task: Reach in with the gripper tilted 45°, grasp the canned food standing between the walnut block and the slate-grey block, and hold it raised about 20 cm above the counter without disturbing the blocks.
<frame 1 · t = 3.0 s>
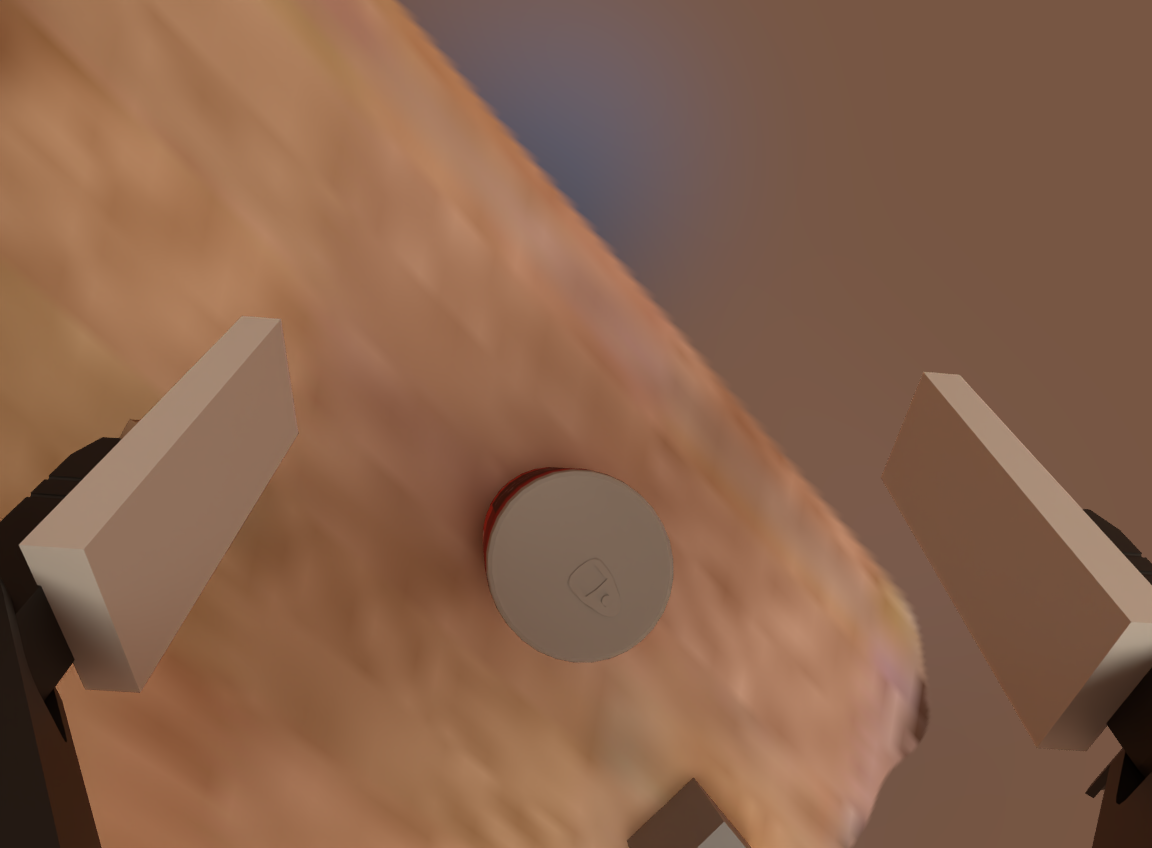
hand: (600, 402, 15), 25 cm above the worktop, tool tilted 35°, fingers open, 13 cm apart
canned food: (551, 536, 40), on the worktop
slate-grey block: (687, 841, 40), on the worktop
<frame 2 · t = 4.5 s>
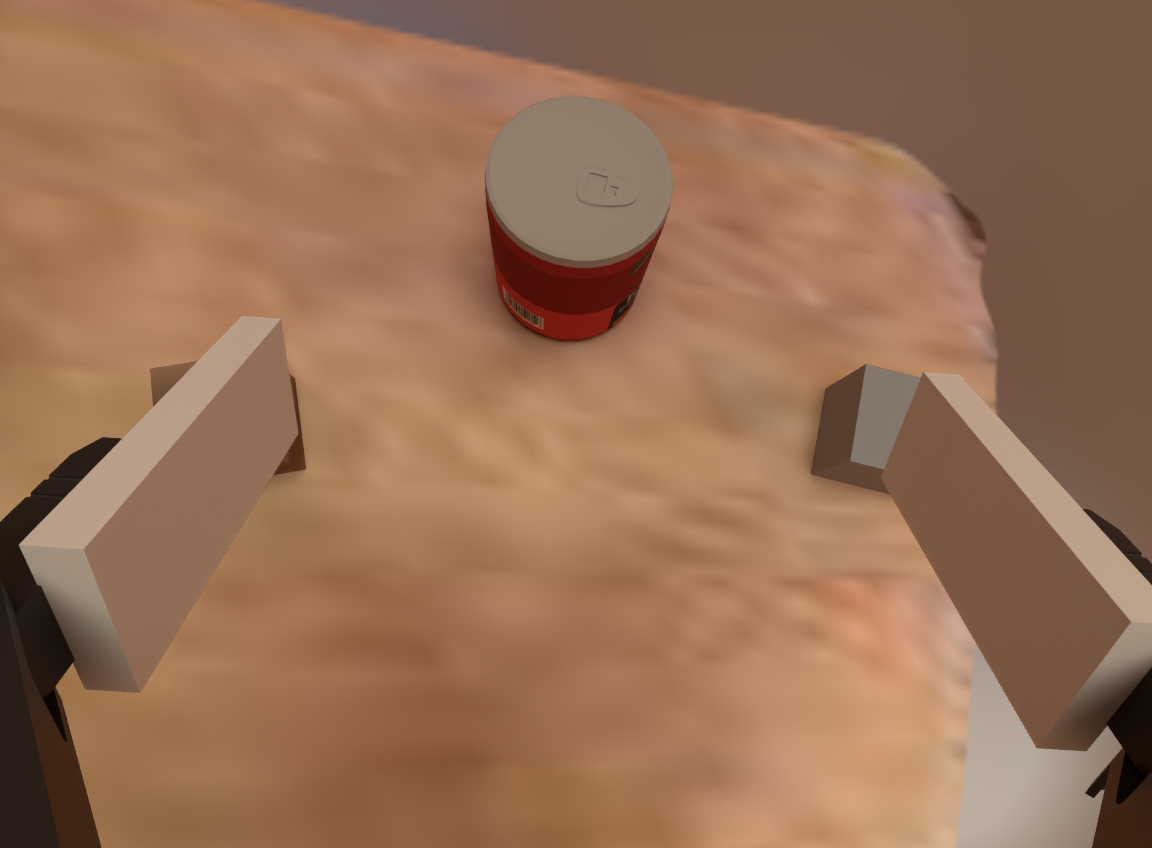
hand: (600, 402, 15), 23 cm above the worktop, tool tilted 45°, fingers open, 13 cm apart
canned food: (566, 281, 40), on the worktop
slate-grey block: (861, 442, 39), on the worktop
walnut block: (252, 431, 37), on the worktop
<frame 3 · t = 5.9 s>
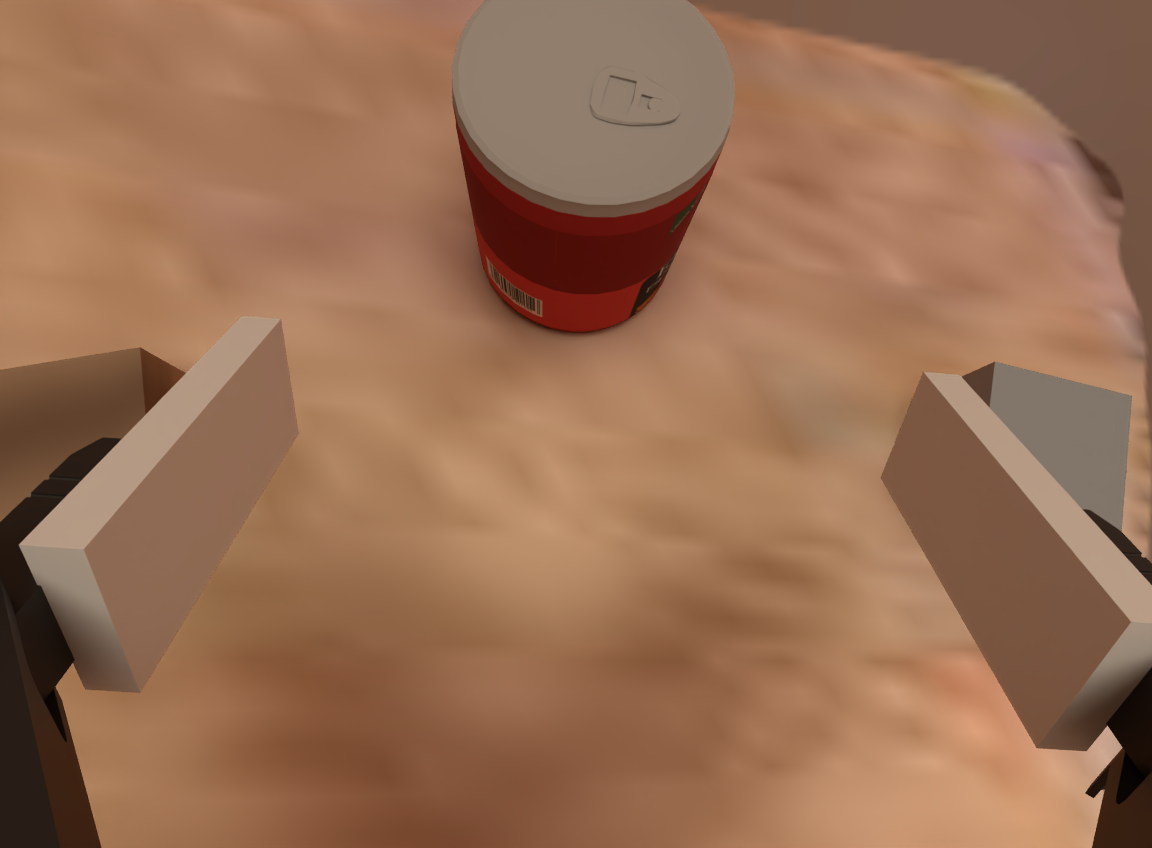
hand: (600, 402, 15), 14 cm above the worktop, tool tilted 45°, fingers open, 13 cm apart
canned food: (573, 255, 30), on the worktop
slate-grey block: (970, 466, 29), on the worktop
walnut block: (148, 457, 28), on the worktop
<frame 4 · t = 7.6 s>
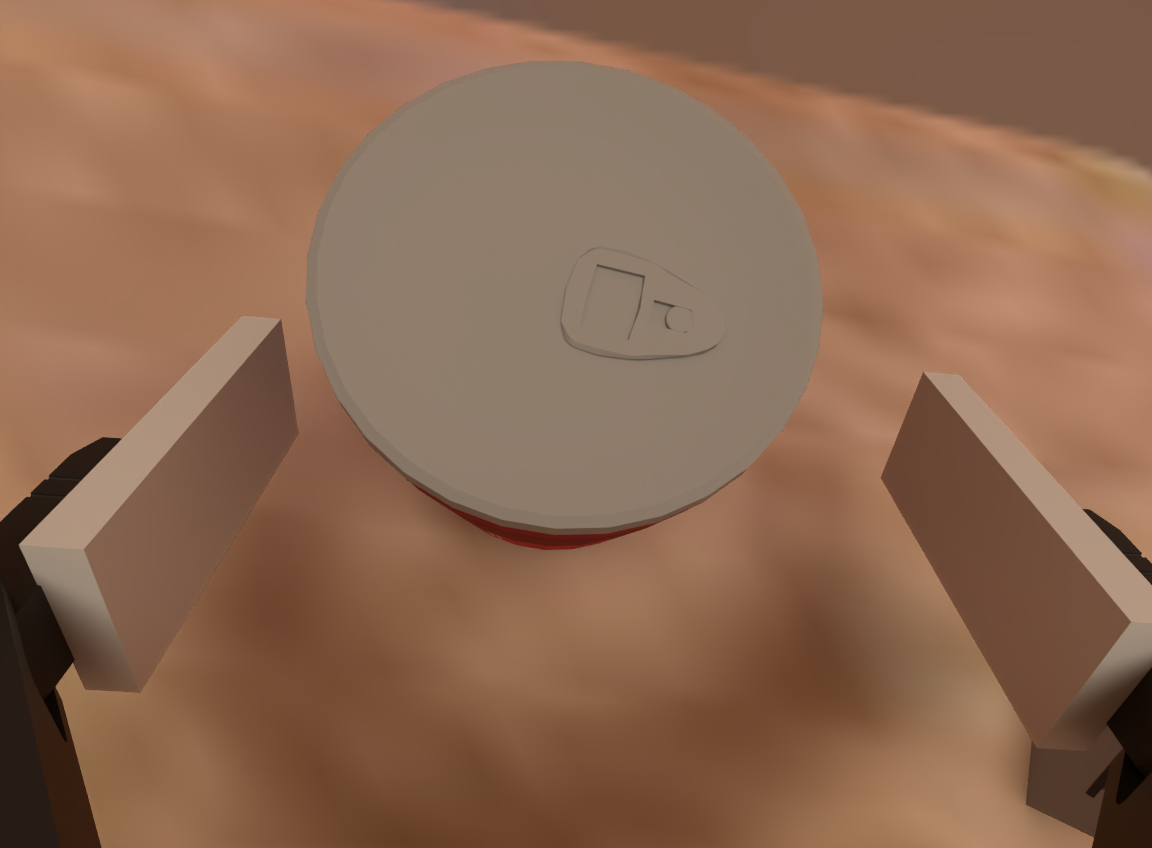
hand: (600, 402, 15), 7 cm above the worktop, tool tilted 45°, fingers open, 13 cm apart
canned food: (551, 424, 22), on the worktop
slate-grey block: (1115, 732, 21), on the worktop
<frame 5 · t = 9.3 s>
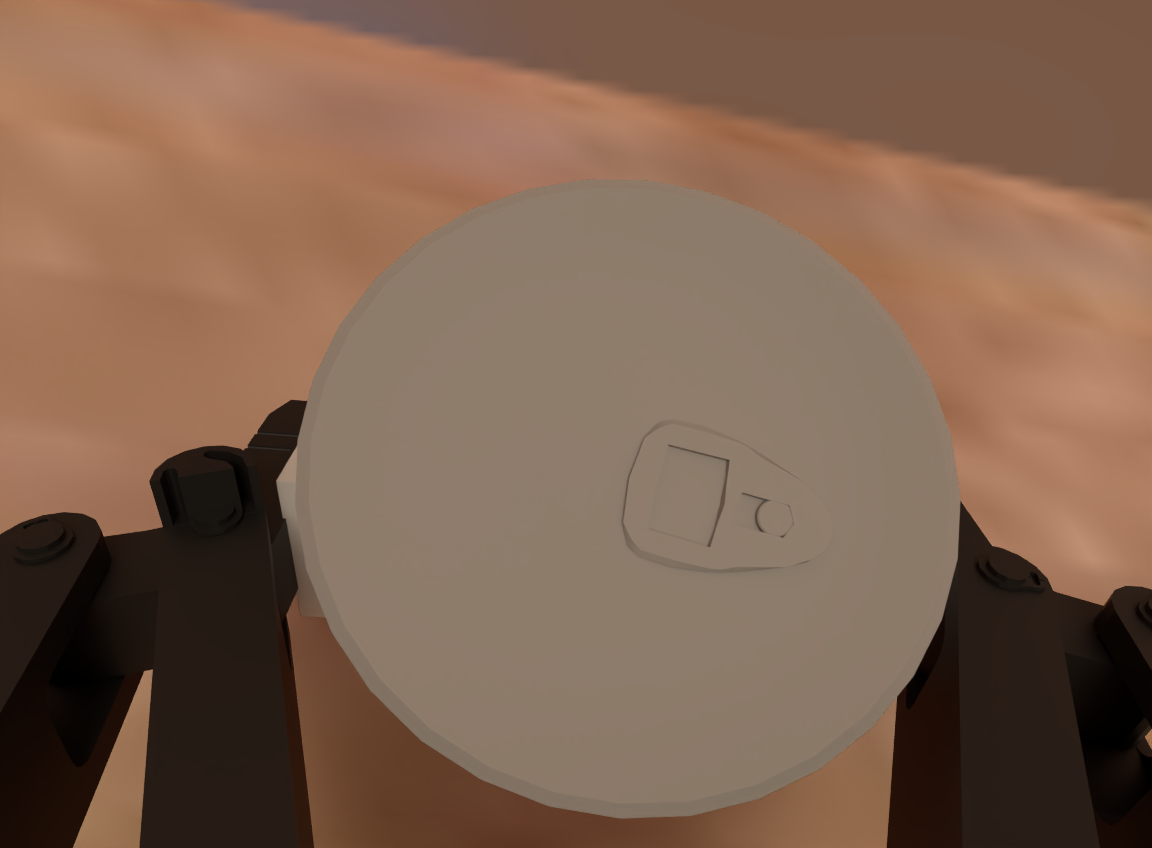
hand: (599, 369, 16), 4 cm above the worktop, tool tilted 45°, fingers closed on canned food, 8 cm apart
canned food: (579, 528, 19), on the worktop, touching gripper
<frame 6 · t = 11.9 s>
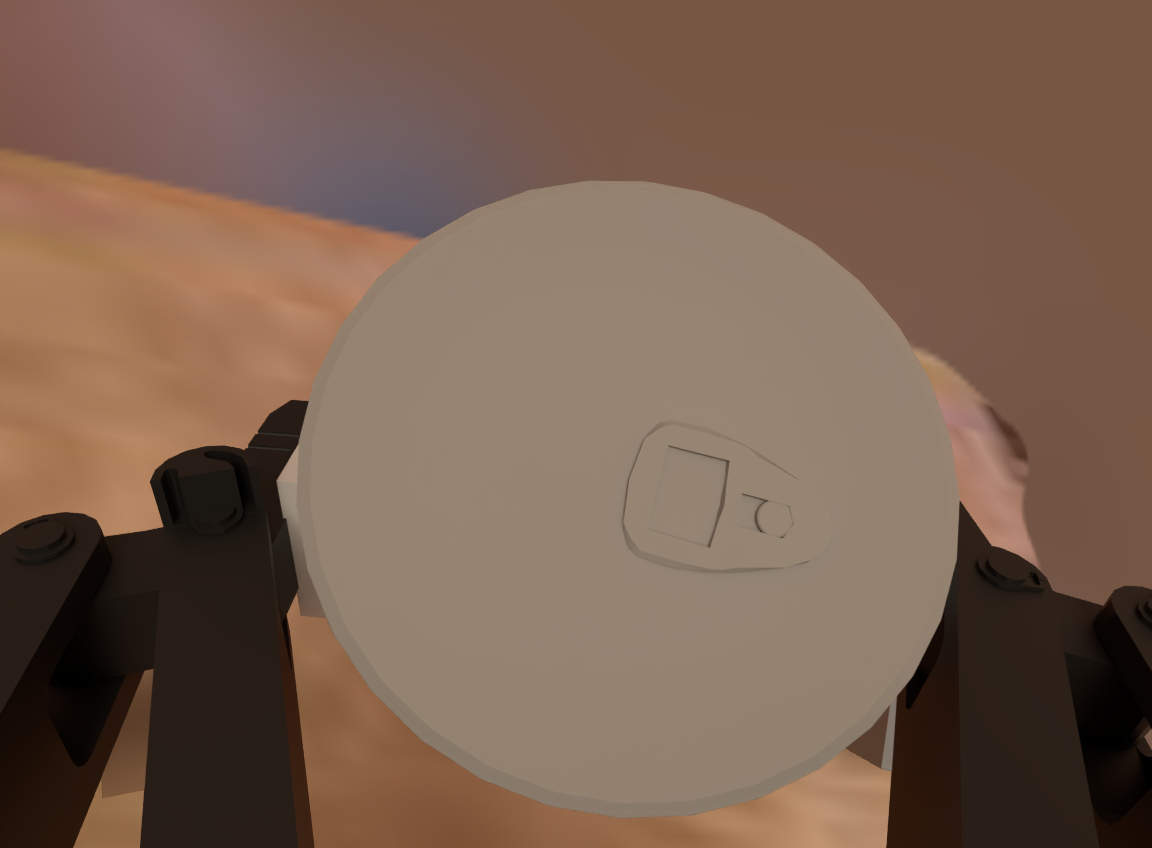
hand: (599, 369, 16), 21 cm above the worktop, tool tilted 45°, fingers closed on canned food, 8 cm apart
canned food: (579, 528, 19), point 17 cm above the worktop, touching gripper
slate-grey block: (890, 701, 35), on the worktop
walnut block: (217, 699, 34), on the worktop
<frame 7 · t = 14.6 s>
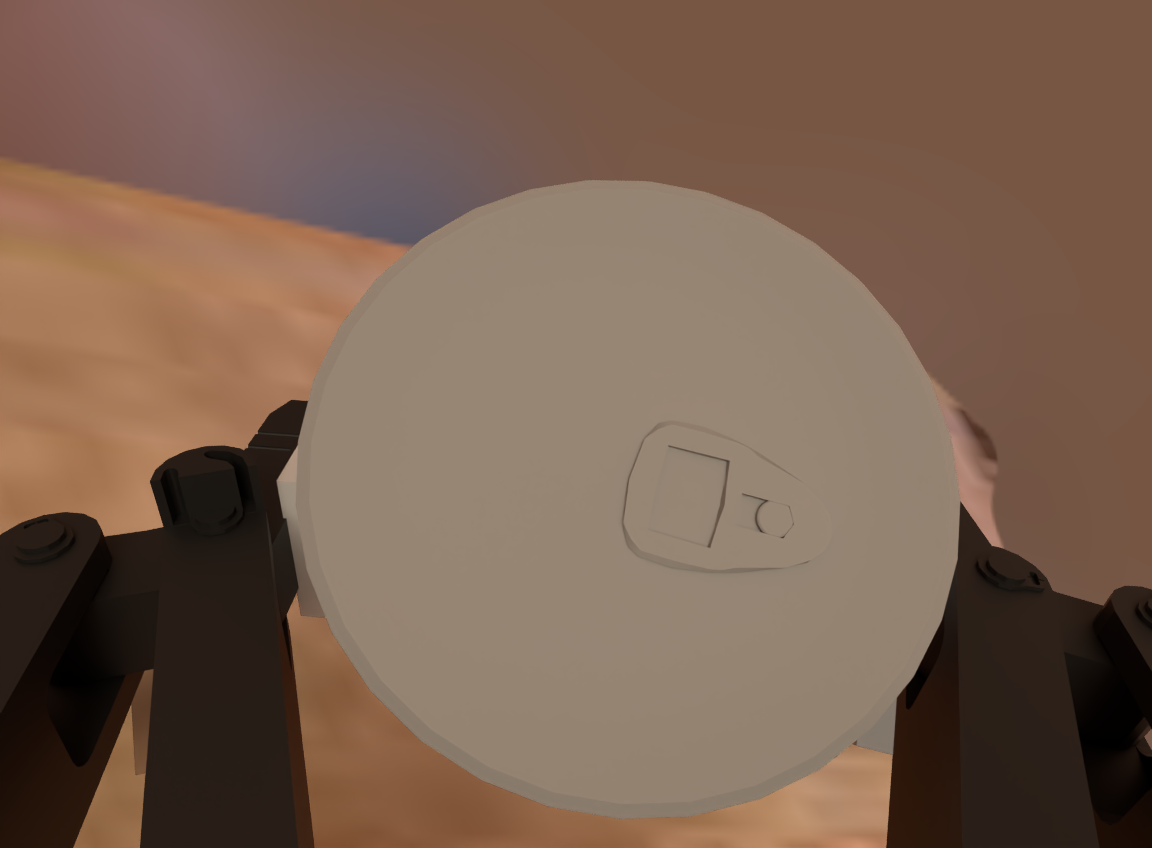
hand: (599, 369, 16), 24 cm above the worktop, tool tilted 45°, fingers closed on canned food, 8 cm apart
canned food: (579, 528, 19), point 20 cm above the worktop, touching gripper
slate-grey block: (867, 686, 38), on the worktop
walnut block: (237, 685, 36), on the worktop
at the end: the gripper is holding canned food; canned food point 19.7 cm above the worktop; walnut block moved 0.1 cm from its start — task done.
